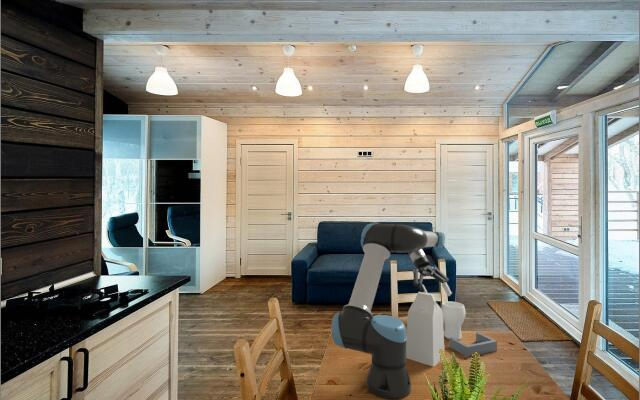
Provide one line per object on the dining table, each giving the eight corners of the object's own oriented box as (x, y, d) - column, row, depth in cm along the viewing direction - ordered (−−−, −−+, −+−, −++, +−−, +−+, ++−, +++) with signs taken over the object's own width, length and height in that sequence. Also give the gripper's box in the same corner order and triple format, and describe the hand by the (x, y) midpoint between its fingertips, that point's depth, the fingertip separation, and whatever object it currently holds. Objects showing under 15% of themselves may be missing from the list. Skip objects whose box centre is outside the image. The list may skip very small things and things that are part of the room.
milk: (444, 356, 148) (445, 293, 147) (433, 366, 139) (434, 299, 139) (416, 348, 156) (417, 288, 155) (404, 357, 147) (405, 294, 146)
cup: (461, 332, 173) (461, 301, 172) (468, 341, 162) (468, 308, 162) (438, 331, 174) (438, 300, 173) (443, 340, 163) (444, 307, 163)
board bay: (467, 357, 147) (467, 347, 147) (449, 346, 157) (449, 337, 157) (496, 350, 153) (497, 341, 153) (477, 341, 163) (477, 332, 163)
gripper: (435, 262, 198) (455, 297, 184) (396, 266, 188) (414, 303, 175) (442, 254, 193) (462, 289, 179) (402, 257, 183) (421, 295, 170)
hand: (438, 296), depth 177 cm, fingers open, 13 cm apart
